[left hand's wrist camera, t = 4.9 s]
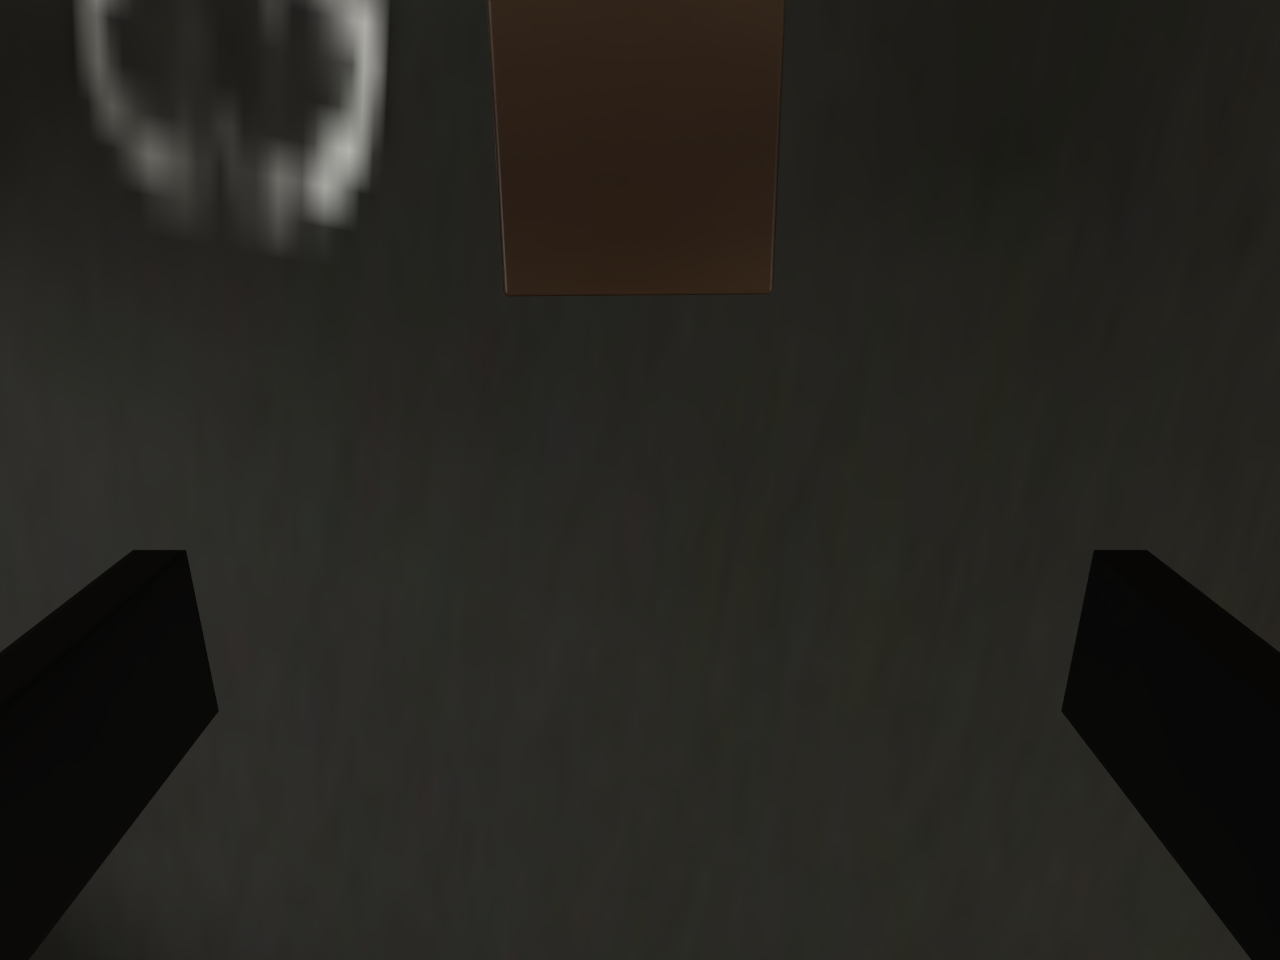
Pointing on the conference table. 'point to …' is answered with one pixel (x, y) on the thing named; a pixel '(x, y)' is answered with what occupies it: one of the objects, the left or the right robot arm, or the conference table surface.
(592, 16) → the bar
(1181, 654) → the left robot arm
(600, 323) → the conference table surface
